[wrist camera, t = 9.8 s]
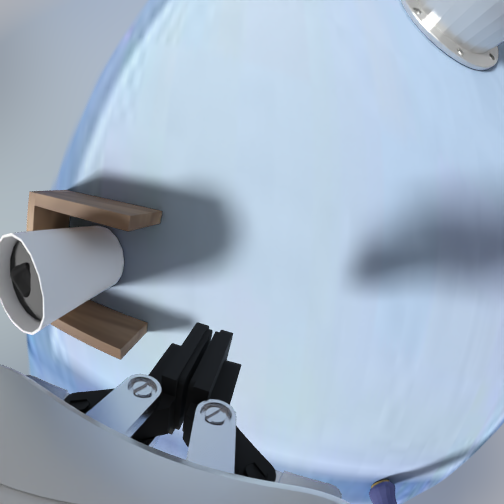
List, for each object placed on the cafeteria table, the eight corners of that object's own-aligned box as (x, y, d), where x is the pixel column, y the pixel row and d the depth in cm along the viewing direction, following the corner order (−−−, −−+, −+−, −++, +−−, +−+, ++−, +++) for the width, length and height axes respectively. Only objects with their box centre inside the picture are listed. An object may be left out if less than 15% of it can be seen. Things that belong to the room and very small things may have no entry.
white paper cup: (86, 298, 23) (13, 337, 13) (67, 232, 22) (-14, 248, 12) (137, 285, 22) (59, 331, 12) (116, 210, 21) (26, 218, 11)
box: (66, 190, 21) (29, 191, 16) (162, 211, 21) (130, 215, 16) (60, 295, 24) (29, 311, 19) (146, 332, 23) (120, 359, 18)
